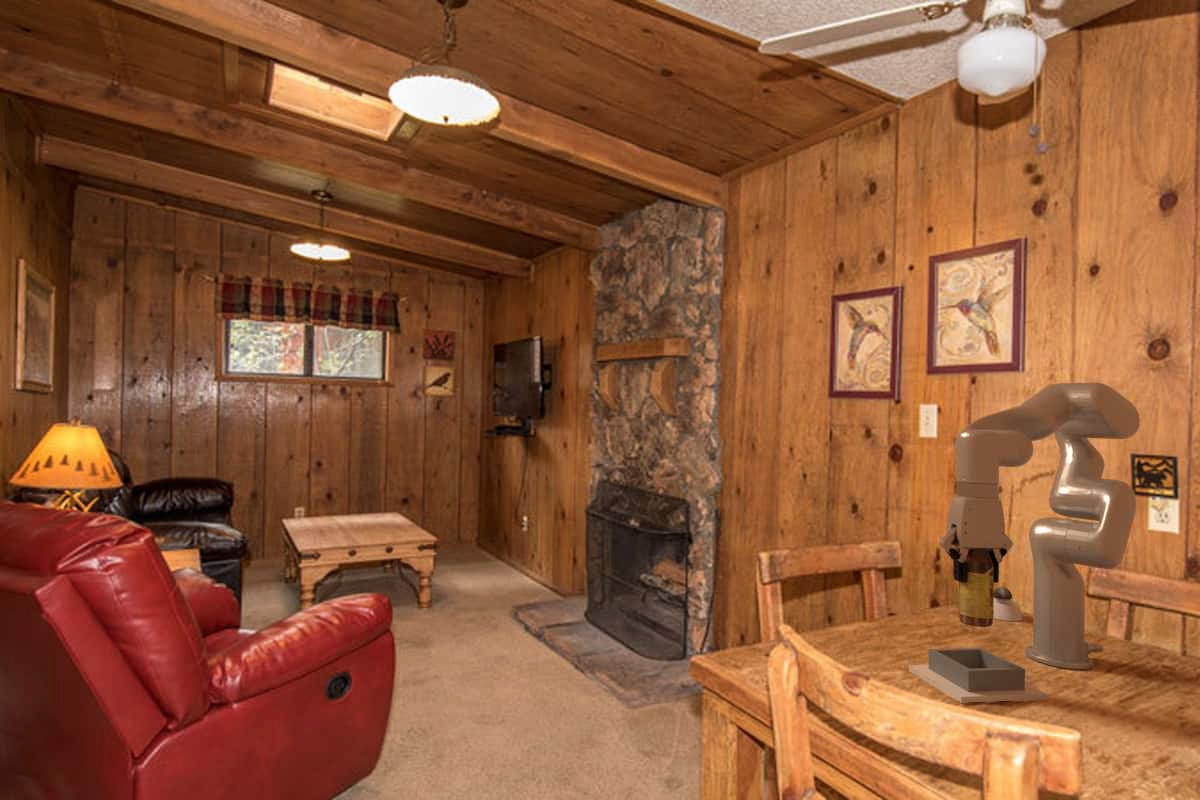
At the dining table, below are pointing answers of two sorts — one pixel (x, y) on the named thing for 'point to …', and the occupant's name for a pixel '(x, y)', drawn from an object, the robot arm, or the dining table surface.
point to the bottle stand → (976, 676)
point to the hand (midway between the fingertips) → (975, 580)
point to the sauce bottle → (977, 590)
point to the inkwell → (1006, 606)
